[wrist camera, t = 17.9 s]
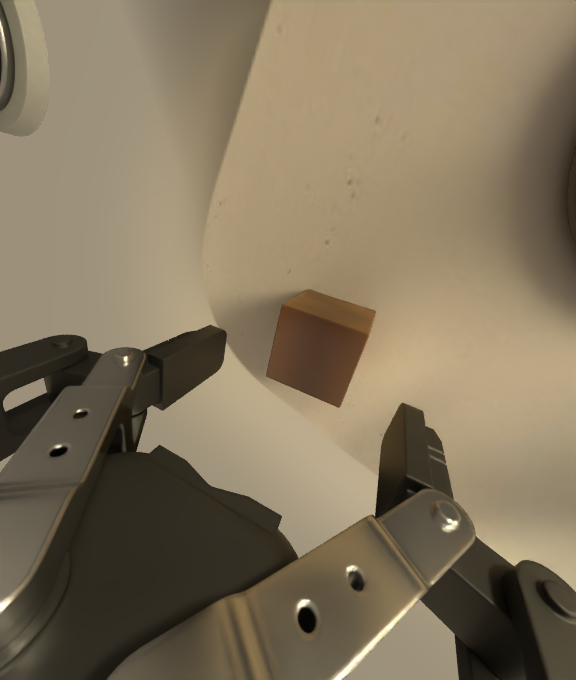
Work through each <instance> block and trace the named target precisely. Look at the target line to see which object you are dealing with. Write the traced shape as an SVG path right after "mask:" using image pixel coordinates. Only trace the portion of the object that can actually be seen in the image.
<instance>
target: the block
mask: <svg viewBox="0 0 576 680" xmlns="http://www.w3.org/2000/svg"><path fill="white" fill-rule="evenodd" d="M375 313H376V312H375V311H373V310H370V309H367V308H364V307H361V306H358V305H355V304H352V303H349V302H346V301H343V300H339V299H336V298H333V297H330V296H327V295H324V294H321V293H318V292H315V291H312V290H307V291H305V292H303V293H301V294H299V295H298V296H296V297H294V298H292V299H291V300H289V301H287V302H285V303H284V304H282V307H281V311H280V316H279V320H278V325H277V329H276V334H275V338H274V342H273V347H272V351H271V356H270V360H269V365H268V369H267V374H266V376H267V377H269V378H271V379H274V380H276V381H278V382H280V383H283V384H285V385H287V386H290V387H292V388H294V389H297V390H299V391H301V392H304V393H306V394H308V395H311V396H313V397H315V398H317V399H320V400H322V401H324V402H327V403H329V404H331V405H334V406H336V407H338V408H339V407H340V406H341V404H342V401H343V399H344V396H345V394H346V391H347V389H348V386H349V384H350V381H351V379H352V376H353V374H354V371H355V369H356V366H357V364H358V362H359V359H360V357H361V354H362V352H363V349H364V347H365V344H366V342H367V339H368V337H369V334H370V330H371V327H372V323H373V320H374V316H375Z"/></svg>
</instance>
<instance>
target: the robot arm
mask: <svg viewBox="0 0 576 680" xmlns="http://www.w3.org/2000/svg"><path fill="white" fill-rule="evenodd" d="M14 80H15V59H14V49H13V43H12V37H11V33H10V28H9V24H8V21H7V17H6V14H5V11H4V8H3V5H2V3H1V0H0V111H1V110H3V109H4V108H5V107H6V106H7V104H8V102H9V101H10V98H11V96H12V92H13V87H14ZM226 337H227V334H226V331H225V330H222V329H220V328H217V327H215V326H212V325H209V326H207V327H204V328H202V329H200V330H197V331H191V332H186V333H183V334H181V335H178V336H177V337H174V338H171V339H169V341H168V340H167V341H164V342H162V343H160V344H157V345H155V346H153V347H150V348H148V349H146V350H143V351H141V350H139V349H136V348H129V347H126V348H125V347H123V348H116V349H112V350H109V351H107V352H105V353H104V354H101V353H96V352H91V351H88V348H87V341H86V339H85V338H83V337H81V336H77V335H57V336H52V337H48V338H44V339H41V340H38V341H35V342H32V343H28V344H25V345H21V346H18V347H15V348H12V349H8V350H5V351H2V352H0V461H2V460H3V459H5V458H7V457H8V456H10V455H12V454H13V453H15V454H14V455H13V456H12V458H11V459H10V460H9V461H8V463H7V464H6V465H5V467H4V468H3V469H2V471H1V472H0V680H343V679H344V678H345V677H346V676H347V675H348V674H349V673H350V672H351V671H352V670H353V669H354V668H355V667H356V666H357V665H358V664H359V663H360V662H361V661H362V660H363V658H365V656H366V655H367V654H368V653H369V652H370V651H371V650H372V649H373V648H374V647H375V646H376V645H377V644H378V643H379V642H380V641H381V640H382V639H383V638H384V637H385V636H386V635H387V633H388V632H389V631H390V630H391V629H392V628H393V627H394V626H395V625H396V624H397V623H398V622H399V621H400V620H401V619H402V618H403V617H404V616H405V615H406V614H407V613H408V611H410V609H411V608H412V607H413V606H414V605H415V604H416V603H417V602H418V601H419V600H421V601H422V602H423V603H424V604H425V605H426V606H427V607H428V608H429V609H430V610H431V611H432V612H433V613H434V614H435V615H436V616H437V617H438V618H439V619H440V620H441V621H442V622H443V623H444V624H445V625H446V626H447V627H448V628H449V629H450V630H451V631H452V632H453V633H454V634H455V644H456V654H457V665H458V675H459V680H576V592H575V591H574V590H573V589H572V588H571V587H570V586H569V585H568V584H567V583H566V582H565V581H564V580H563V579H561V578H560V577H559V576H558V575H557V574H555V573H554V572H552V571H551V570H550V569H548V568H546V567H545V566H543V565H541V564H539V563H537V562H534V561H529V560H523V561H521V562H519V563H518V564H517V565H516V566H513V565H512V564H510V563H509V562H508V561H506V560H505V559H504V558H502V557H501V556H500V555H499V554H497V553H496V552H495V551H493V550H492V549H491V548H489V547H488V546H487V545H485V544H484V543H483V542H482V541H481V540H479V539H478V538H477V537H476V533H475V528H474V526H473V523H472V521H471V520H470V518H469V516H468V515H467V513H466V512H465V511H464V510H463V508H462V507H461V506H460V505H459V504H458V503H457V502H455V501H454V498H453V493H452V489H451V484H450V479H449V474H448V470H447V465H445V464H446V460H445V455H443V454H444V451H443V446H442V442H441V440H440V439H439V437H438V435H437V434H436V432H435V431H434V429H431V428H429V427H426V426H425V420H424V413H423V411H422V410H420V409H417V408H415V407H412V406H410V405H407V404H405V403H401V405H400V406H399V408H398V410H397V411H396V413H395V415H394V417H393V419H392V421H391V423H390V425H389V427H388V429H387V431H386V433H385V435H384V438H383V441H382V445H381V454H380V466H379V478H378V491H377V501H376V513H375V516H374V515H369V516H367V517H365V518H363V519H361V520H360V521H358V522H357V523H355V524H353V525H352V526H350V527H348V528H347V529H345V530H344V531H342V532H340V533H339V534H337V535H336V536H334V537H332V538H331V539H329V540H328V541H326V542H324V543H323V544H321V545H320V546H318V547H316V548H315V549H313V550H311V551H310V552H308V553H306V554H305V555H303V556H302V557H300V558H298V556H297V554H296V552H295V551H294V549H293V547H292V546H291V544H290V543H289V541H288V540H287V539H286V537H285V536H284V535H283V534H282V533H281V532H280V531H279V530H278V526H279V524H280V521H281V518H282V516H281V515H279V514H277V513H276V512H274V511H272V510H271V509H269V508H267V507H265V506H263V505H262V504H260V503H259V502H257V501H255V500H253V499H252V498H250V497H248V496H244V495H240V494H237V493H233V492H229V491H225V490H222V489H218V488H215V487H212V486H210V485H209V484H208V483H207V482H206V481H205V480H204V479H203V478H202V477H201V476H200V475H199V474H198V473H197V472H196V470H195V469H194V468H193V467H192V466H191V465H190V464H189V463H188V462H187V461H186V460H185V459H183V458H181V457H179V456H178V455H176V454H174V453H172V452H171V451H169V450H167V449H166V448H164V447H162V446H160V445H159V446H158V447H157V448H155V449H154V450H153V451H152V452H151V453H149V454H148V453H142V452H136V450H137V447H138V443H139V440H140V436H141V433H142V430H143V426H144V423H145V419H146V416H147V408H148V407H150V406H151V405H153V406H155V407H157V408H159V409H160V410H165V409H166V408H167V407H169V406H170V405H171V404H173V403H174V402H176V401H177V400H178V399H180V398H181V397H183V396H184V395H185V394H187V393H188V392H189V391H191V390H192V389H194V388H195V387H196V386H198V385H199V384H201V383H202V382H203V381H205V380H206V379H208V378H209V377H210V376H212V375H213V374H214V373H216V372H217V371H218V370H219V369H220V367H221V366H222V363H223V360H224V353H225V345H226ZM41 378H44V381H45V385H46V390H47V393H45V394H43V395H41V396H38V397H36V398H34V399H32V400H30V401H28V402H26V403H24V404H21V405H19V406H17V407H15V408H13V409H11V410H8V411H6V412H5V410H4V408H3V400H4V398H5V397H6V396H7V395H8V394H9V393H10V392H11V391H13V390H15V389H17V388H20V387H22V386H25V385H27V384H29V383H32V382H34V381H37V380H39V379H41Z"/></svg>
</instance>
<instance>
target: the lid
mask: <svg viewBox="0 0 576 680" xmlns="http://www.w3.org/2000/svg"><path fill="white" fill-rule="evenodd" d="M567 204H568V217H569V225H570V229H571V232H572V236H573V240H574V244H575V246H576V148H575V153H574V157H573V161H572V165H571V169H570V173H569V184H568V195H567Z"/></svg>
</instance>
